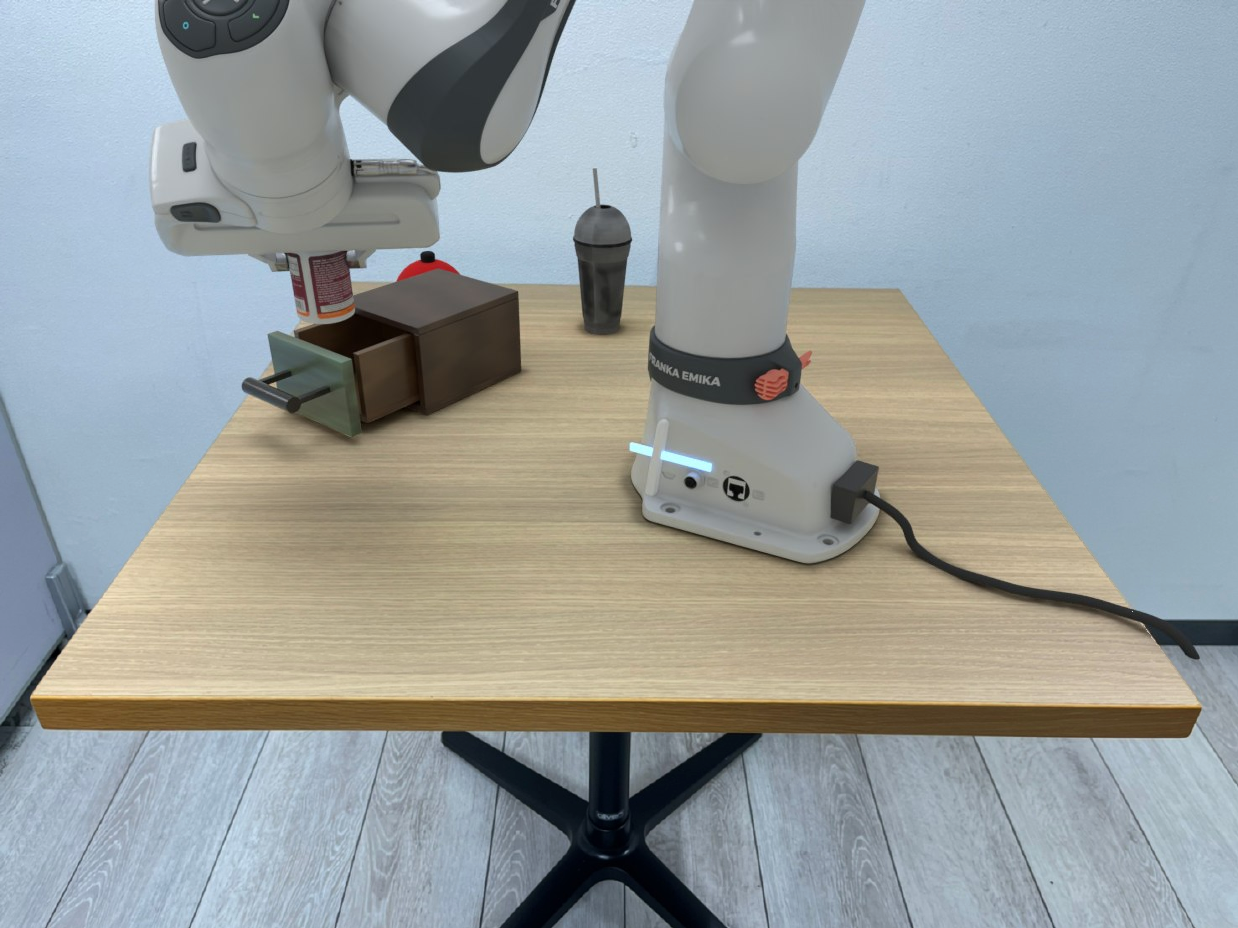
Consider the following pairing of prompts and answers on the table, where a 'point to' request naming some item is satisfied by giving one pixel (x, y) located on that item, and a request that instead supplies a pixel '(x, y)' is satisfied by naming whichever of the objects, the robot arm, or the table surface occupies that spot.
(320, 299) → the pill bottle
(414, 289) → the cabinet
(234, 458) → the table surface
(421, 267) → the ornament
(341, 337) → the drawer
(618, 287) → the beverage cup
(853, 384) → the table surface
